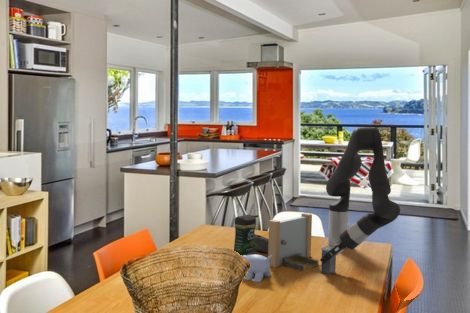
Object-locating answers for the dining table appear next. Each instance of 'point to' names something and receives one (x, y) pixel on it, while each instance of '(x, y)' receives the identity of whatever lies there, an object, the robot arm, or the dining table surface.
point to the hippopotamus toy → (258, 267)
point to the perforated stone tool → (261, 243)
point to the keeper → (299, 262)
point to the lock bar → (328, 262)
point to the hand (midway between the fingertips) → (325, 258)
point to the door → (289, 238)
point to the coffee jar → (245, 235)
